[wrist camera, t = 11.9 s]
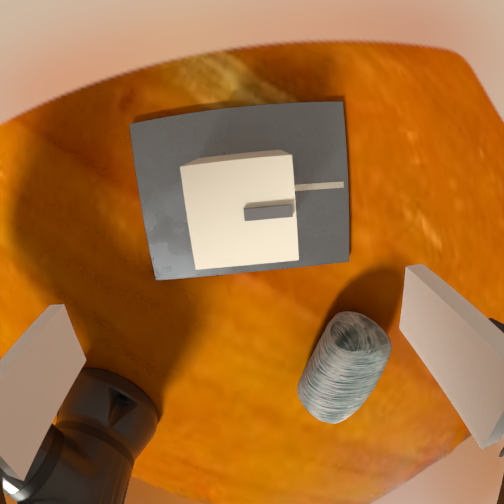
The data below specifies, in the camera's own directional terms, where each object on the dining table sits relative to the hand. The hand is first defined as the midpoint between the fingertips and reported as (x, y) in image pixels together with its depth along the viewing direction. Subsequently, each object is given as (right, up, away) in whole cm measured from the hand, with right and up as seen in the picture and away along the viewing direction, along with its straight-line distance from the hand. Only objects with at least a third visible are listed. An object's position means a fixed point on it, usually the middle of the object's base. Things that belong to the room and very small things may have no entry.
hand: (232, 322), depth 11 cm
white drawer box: (0, +8, +18) cm, 20 cm away
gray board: (0, +8, +19) cm, 21 cm away
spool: (+11, -9, +26) cm, 30 cm away
